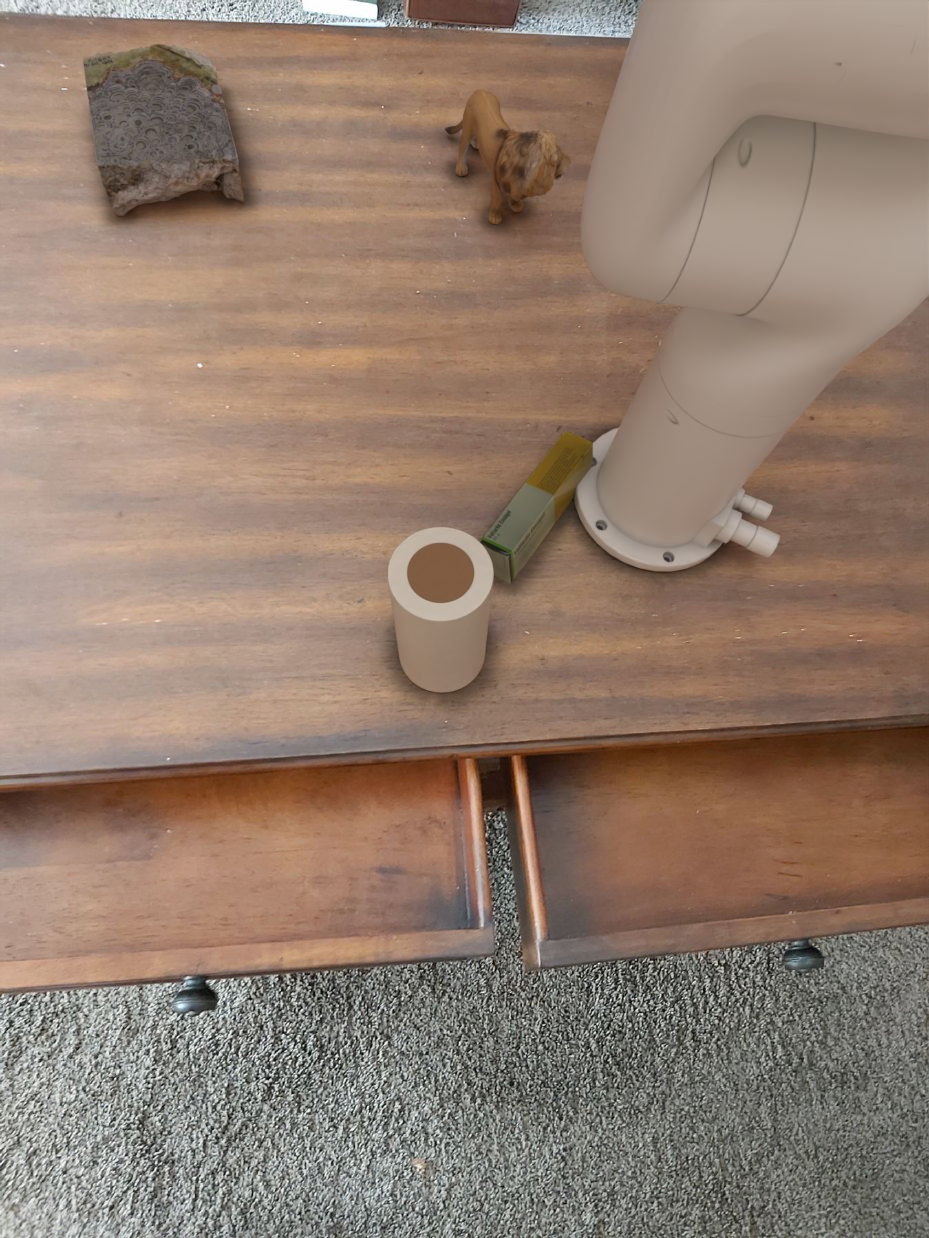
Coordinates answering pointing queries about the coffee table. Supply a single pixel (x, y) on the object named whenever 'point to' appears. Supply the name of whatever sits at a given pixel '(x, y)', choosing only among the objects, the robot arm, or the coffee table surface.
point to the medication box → (537, 505)
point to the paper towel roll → (441, 606)
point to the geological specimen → (159, 126)
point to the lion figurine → (508, 154)
